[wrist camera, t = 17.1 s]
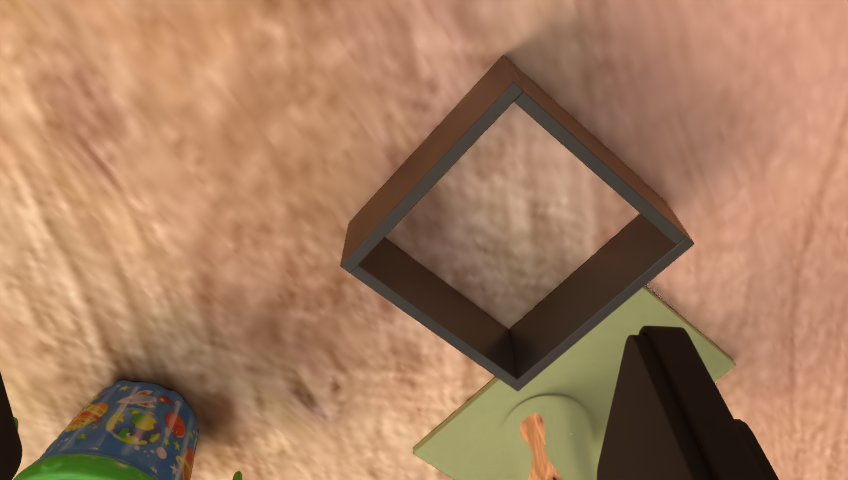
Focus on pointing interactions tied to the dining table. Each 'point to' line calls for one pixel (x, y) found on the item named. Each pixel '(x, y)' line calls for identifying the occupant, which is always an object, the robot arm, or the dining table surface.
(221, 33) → the dining table surface
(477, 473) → the drying mat
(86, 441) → the snack cup
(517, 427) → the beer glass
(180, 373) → the dining table surface
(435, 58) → the dining table surface
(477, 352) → the basin
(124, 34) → the dining table surface
